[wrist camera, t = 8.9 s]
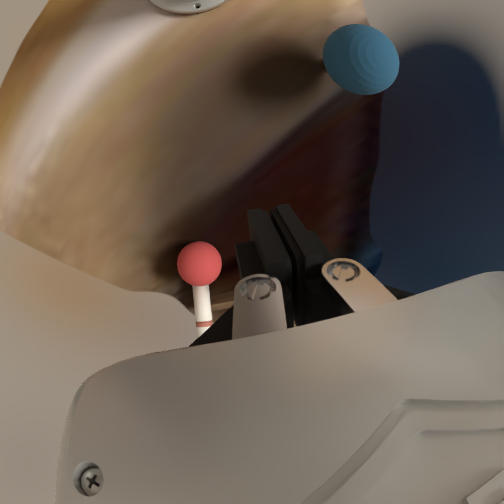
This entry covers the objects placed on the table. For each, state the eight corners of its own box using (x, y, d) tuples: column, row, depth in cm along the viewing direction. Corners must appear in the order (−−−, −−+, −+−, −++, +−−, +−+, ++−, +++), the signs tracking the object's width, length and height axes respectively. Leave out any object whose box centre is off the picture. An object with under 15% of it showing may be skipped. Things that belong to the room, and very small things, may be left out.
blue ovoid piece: (334, 106, 34) (384, 112, 24) (288, 62, 31) (325, 48, 20) (370, 68, 32) (426, 65, 21) (328, 24, 28) (376, 3, 18)
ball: (180, 296, 39) (185, 267, 43) (223, 294, 39) (225, 264, 43) (168, 262, 35) (176, 234, 40) (216, 258, 35) (219, 230, 40)
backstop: (195, 297, 45) (195, 307, 43) (264, 284, 46) (267, 294, 44) (197, 303, 46) (197, 313, 44) (265, 290, 47) (268, 300, 45)
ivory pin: (189, 279, 43) (195, 336, 42) (194, 278, 41) (200, 338, 40) (205, 278, 44) (210, 334, 43) (210, 277, 42) (216, 335, 41)
